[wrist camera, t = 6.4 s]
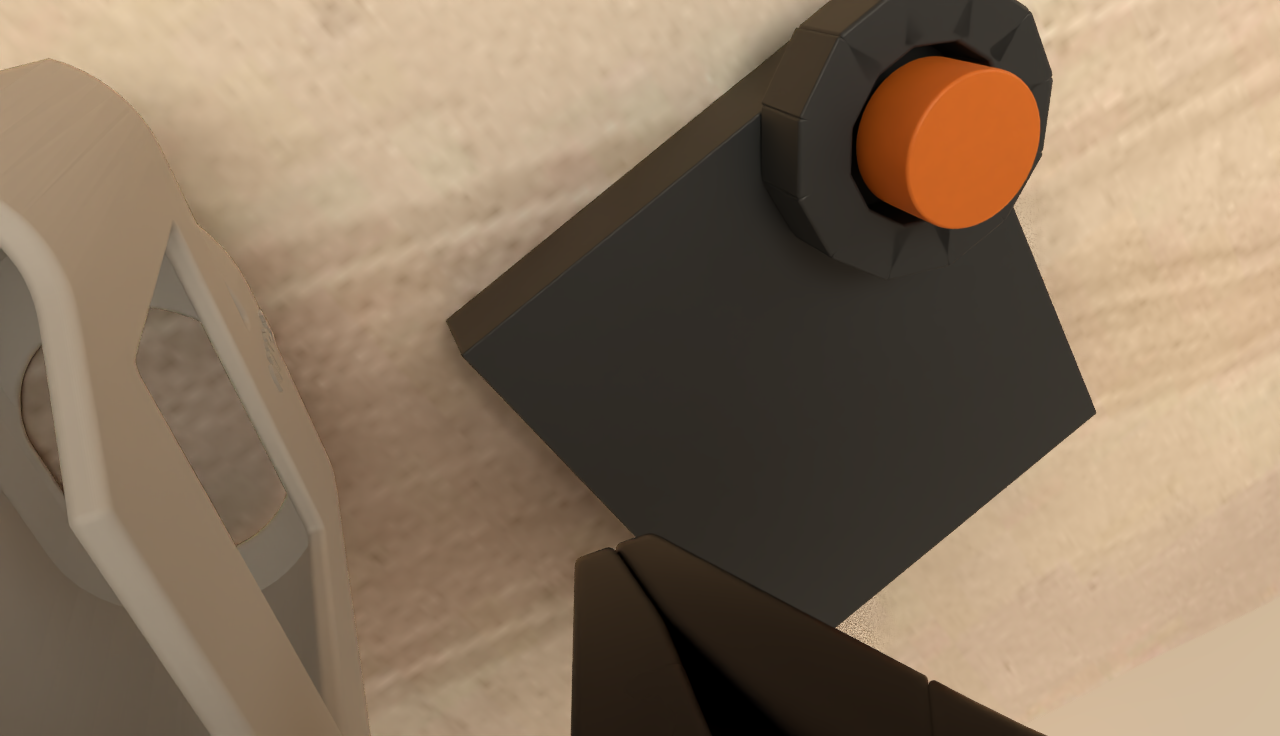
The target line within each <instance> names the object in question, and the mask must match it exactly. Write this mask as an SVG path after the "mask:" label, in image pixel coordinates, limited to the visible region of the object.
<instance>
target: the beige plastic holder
mask: <svg viewBox="0 0 1280 736" xmlns="http://www.w3.org/2000/svg"><path fill="white" fill-rule="evenodd" d="M149 308H154V309H162V310H166V311H170V312H175V313H178V314H181V315H184V316H187V317H190V318H192V319H195V320H197V321H199V322H201V324H202V326H203V328H204V330H205V332H206V334H207V336H208V338H209V340H210V342H211V344H212V346H213V348H214V350H215V352H216V354H217V356H218V358H219V360H220V362H221V364H222V366H223V368H224V370H225V372H226V374H227V376H228V378H229V380H230V382H231V384H232V386H233V388H234V389H235V391H236V393H237V395H238V397H239V399H240V401H241V403H242V405H243V407H244V409H245V411H246V413H247V415H248V417H249V419H250V421H251V423H252V425H253V427H254V429H255V431H256V433H257V435H258V437H259V439H260V441H261V443H262V445H263V447H264V449H265V451H266V453H267V455H268V457H269V459H270V461H271V463H272V465H273V467H274V469H275V471H276V473H277V475H278V477H279V479H280V481H281V483H282V485H283V487H284V488H285V490H286V492H287V493H286V496H285V499H284V501H283V503H282V505H281V507H280V508H279V510H278V511H277V513H276V514H275V515H274V517H273V518H272V519H271V520H270V521H269V522H268V524H267V525H266V526H265V527H263V528H262V529H261V530H260V531H259V532H258V533H256V534H255V535H253V536H252V537H251V538H249V539H248V540H246V541H244V542H242V543H241V544H239V545H237V546H236V545H235V544H234V542H233V540H232V538H231V536H230V535H229V533H228V531H227V529H226V528H225V526H224V524H223V522H222V520H221V519H220V517H219V515H218V513H217V512H216V510H215V508H214V506H213V504H212V503H211V501H210V499H209V497H208V496H207V494H206V492H205V490H204V488H203V487H202V485H201V483H200V481H199V480H198V478H197V476H196V474H195V472H194V471H193V469H192V467H191V465H190V464H189V462H188V460H187V458H186V456H185V455H184V453H183V451H182V449H181V448H180V446H179V444H178V442H177V440H176V439H175V437H174V435H173V433H172V432H171V430H170V428H169V426H168V424H167V423H166V421H165V419H164V417H163V416H162V414H161V412H160V410H159V408H158V407H157V405H156V403H155V401H154V400H153V398H152V396H151V394H150V392H149V391H148V389H147V387H146V385H145V384H144V382H143V380H142V378H141V376H140V374H139V372H138V369H137V366H136V361H135V358H136V354H137V350H138V347H139V343H140V340H141V336H142V332H143V329H144V325H145V321H146V318H147V314H148V311H149ZM41 345H42V348H43V355H44V361H45V368H46V375H47V381H48V388H49V395H50V402H51V408H52V415H53V422H54V428H55V435H56V442H57V448H58V455H59V462H60V468H61V475H62V482H63V489H64V493H63V491H62V490H61V488H60V487H59V485H58V484H57V482H56V481H55V479H54V478H53V476H52V475H51V473H50V471H49V470H48V468H47V467H46V465H45V464H44V462H43V461H42V459H41V458H40V456H39V455H38V453H37V452H36V450H35V449H34V447H33V446H32V444H31V443H30V441H29V439H28V437H27V435H26V432H25V429H24V426H23V422H22V416H21V401H20V394H21V384H22V380H23V377H24V373H25V371H26V368H27V366H28V364H29V362H30V360H31V358H32V357H33V355H34V354H35V353H36V351H37V350H38V348H39V347H40V346H41ZM0 736H371V735H370V727H369V720H368V713H367V706H366V698H365V691H364V684H363V676H362V669H361V662H360V654H359V647H358V640H357V633H356V625H355V618H354V611H353V603H352V596H351V589H350V581H349V574H348V567H347V560H346V552H345V545H344V538H343V530H342V523H341V516H340V509H339V501H338V494H337V487H336V481H335V475H334V471H333V469H332V466H331V463H330V460H329V458H328V455H327V453H326V451H325V449H324V447H323V445H322V442H321V440H320V438H319V436H318V434H317V432H316V429H315V427H314V425H313V423H312V421H311V419H310V417H309V414H308V412H307V410H306V408H305V406H304V404H303V401H302V399H301V397H300V395H299V393H298V391H297V388H296V386H295V384H294V382H293V380H292V378H291V376H290V373H289V371H288V369H287V367H286V365H285V363H284V360H283V358H282V356H281V354H280V352H279V350H278V348H277V345H276V343H275V338H274V335H273V332H272V330H271V327H270V325H269V323H268V321H267V320H266V318H265V316H264V314H263V312H262V310H260V309H259V307H258V304H257V302H256V300H255V298H254V296H253V294H252V291H251V289H250V287H249V285H248V284H247V282H246V280H245V278H244V276H243V275H242V273H241V271H240V269H239V268H238V266H237V265H236V264H235V262H234V261H233V260H232V259H231V257H230V256H229V255H228V253H227V252H226V251H225V250H224V248H223V247H222V246H221V245H220V244H219V243H218V242H217V241H215V240H214V239H213V238H212V237H211V236H210V235H209V234H208V233H207V232H206V231H205V230H204V229H202V228H201V227H200V226H198V225H197V223H196V221H195V219H194V217H193V215H192V213H191V211H190V209H189V207H188V204H187V202H186V200H185V198H184V196H183V194H182V192H181V190H180V188H179V186H178V184H177V181H176V179H175V177H174V175H173V173H172V171H171V169H170V167H169V165H168V163H167V160H166V158H165V156H164V154H163V152H162V150H161V148H160V146H159V144H158V142H157V140H156V138H155V137H154V135H153V133H152V131H151V130H150V128H149V127H148V125H147V124H146V123H145V121H144V120H143V118H142V117H141V116H140V115H139V114H138V113H137V111H136V110H135V109H134V108H133V107H132V106H131V105H130V104H129V103H128V102H127V101H126V100H125V99H124V98H122V97H121V96H120V95H119V94H118V93H117V92H116V91H114V90H113V89H111V88H110V87H109V86H107V85H106V84H104V83H103V82H102V81H100V80H98V79H97V78H95V77H93V76H91V75H89V74H88V73H86V72H84V71H82V70H80V69H77V68H75V67H73V66H70V65H68V64H66V63H62V62H59V61H56V60H53V59H50V58H48V59H44V60H40V61H36V62H33V63H29V64H25V65H21V66H17V67H13V68H9V69H5V70H1V71H0Z"/></svg>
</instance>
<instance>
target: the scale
mask: <svg viewBox="0 0 1280 736" xmlns="http://www.w3.org/2000/svg"><path fill="white" fill-rule="evenodd" d="M928 56H941V57H947V58H952V59H956V60H961V61H966V62H971V63H975V64H980V65H985V66H990V67H994V68H999V69H1003V70H1006V71H1009V72H1011V73H1013V74H1015V75H1016V76H1017V77H1019V78H1020V79H1021V80H1022V81H1023V82H1024V83H1025V84H1026V85H1027V86H1028V88H1029V89H1030V91H1031V92H1032V94H1033V96H1034V98H1035V100H1036V103H1037V107H1038V110H1039V117H1040V139H1039V145H1038V150H1037V154H1036V157H1035V160H1034V163H1033V166H1032V168H1031V171H1030V172H1029V174H1028V176H1027V178H1026V180H1025V182H1024V184H1023V185H1022V187H1021V188H1020V190H1019V191H1018V192H1017V194H1016V195H1015V196H1014V198H1013V199H1012V200H1011V201H1010V202H1009V203H1008V204H1007V205H1006V206H1005V207H1004V208H1003V209H1002V210H1001V211H999V212H998V213H997V214H995V215H994V216H993V217H991V218H989V219H988V220H986V221H984V222H982V223H979V224H977V225H974V226H971V227H968V228H961V229H946V228H941V227H938V226H936V225H933V224H931V223H929V222H926V221H924V220H922V219H920V218H918V217H916V216H914V215H911V214H909V213H907V212H905V211H903V210H901V209H898V208H896V207H894V206H892V205H890V204H888V203H885V202H884V201H882V200H880V199H879V198H877V197H876V196H875V195H874V194H873V193H872V192H871V191H870V190H869V189H868V187H867V186H866V184H865V182H864V181H863V178H862V176H861V174H860V171H859V167H858V163H857V156H856V141H857V133H858V128H859V124H860V121H861V117H862V114H863V112H864V110H865V108H866V105H867V104H868V102H869V100H870V98H871V96H872V95H873V94H874V92H875V91H876V89H877V88H878V87H879V86H880V84H881V83H882V82H883V81H884V80H885V79H886V78H887V77H888V76H889V75H890V74H891V73H893V72H894V71H895V70H897V69H898V68H899V67H901V66H903V65H905V64H907V63H908V62H911V61H913V60H916V59H919V58H923V57H928ZM1051 77H1052V71H1051V68H1050V65H1049V62H1048V60H1047V57H1046V54H1045V51H1044V48H1043V45H1042V42H1041V39H1040V36H1039V33H1038V30H1037V27H1036V24H1035V21H1034V18H1033V15H1032V13H1031V12H1030V11H1029V10H1028V8H1027V7H1026V6H1024V5H1023V4H1021V3H1020V2H1018V1H1017V0H830V1H829V2H828V3H827V4H825V5H824V6H823V7H822V8H821V9H819V10H818V11H817V12H816V13H814V14H813V15H812V16H811V17H810V18H808V19H807V20H806V21H805V22H803V23H802V24H801V25H800V26H799V28H796V29H795V31H794V33H793V35H792V37H791V39H790V41H789V42H788V43H786V44H785V45H784V46H783V47H781V48H780V49H779V50H778V51H777V52H775V53H774V54H773V55H772V56H770V57H769V58H768V59H767V60H765V61H764V62H763V63H762V64H761V65H759V66H758V67H757V68H756V69H754V70H753V71H752V72H751V73H749V74H748V75H747V76H746V77H745V78H743V79H742V80H741V81H740V82H738V83H737V84H736V85H735V86H734V87H732V88H731V89H730V90H729V91H727V92H726V93H725V94H724V95H722V96H721V97H720V98H719V99H718V100H716V101H715V102H714V103H713V104H711V105H710V106H709V107H708V108H707V109H705V110H704V111H703V112H702V113H700V114H699V115H698V116H697V117H695V118H694V119H693V120H692V121H691V122H689V123H688V124H687V125H686V126H684V127H683V128H682V129H681V130H679V131H678V132H677V133H676V134H675V135H673V136H672V137H671V138H670V139H668V140H667V141H666V142H665V143H664V144H662V145H661V146H660V147H659V148H657V149H656V150H655V151H654V152H652V153H651V154H650V155H649V156H648V157H646V158H645V159H644V160H643V161H641V162H640V163H639V164H638V165H636V166H635V167H634V168H633V169H632V170H630V171H629V172H628V173H627V174H625V175H624V176H623V177H622V178H621V179H619V180H618V181H617V182H616V183H614V184H613V185H612V186H611V187H609V188H608V189H607V190H606V191H605V192H603V193H602V194H601V195H600V196H598V197H597V198H596V199H595V200H594V201H592V202H591V203H590V204H589V205H587V206H586V207H585V208H584V209H582V210H581V211H580V212H579V213H578V214H576V215H575V216H574V217H573V218H571V219H570V220H569V221H568V222H566V223H565V224H564V225H563V226H562V227H560V228H559V229H558V230H557V231H555V232H554V233H553V234H552V235H551V236H549V237H548V238H547V239H546V240H544V241H543V242H542V243H541V244H539V245H538V246H537V247H536V248H535V249H533V250H532V251H531V252H530V253H528V254H527V255H526V256H525V257H524V258H522V259H521V260H520V261H519V262H517V263H516V264H515V265H514V266H512V267H511V268H510V269H509V270H508V271H506V272H505V273H504V274H503V275H501V276H500V277H499V278H498V279H496V280H495V281H494V282H493V283H492V284H490V285H489V286H488V287H487V288H485V289H484V290H483V291H482V292H481V293H479V294H478V295H477V296H476V297H474V298H473V299H472V300H471V301H469V302H468V303H467V304H466V305H465V306H463V307H462V308H461V309H460V310H458V311H457V312H456V313H455V314H453V315H452V316H451V317H450V318H449V319H447V321H446V322H447V324H448V326H449V329H450V331H451V333H452V335H453V337H454V339H455V342H456V344H457V346H458V348H459V350H460V352H461V355H462V357H463V358H464V359H465V360H466V361H467V362H468V363H469V364H470V365H471V366H472V367H473V368H474V369H475V370H476V371H477V372H478V373H479V374H480V375H481V376H482V377H483V378H484V379H485V381H486V382H487V383H488V384H489V385H490V386H491V387H492V388H493V389H494V390H495V391H496V392H497V393H498V394H499V395H500V396H501V397H502V398H503V399H504V400H505V401H506V402H507V403H508V404H509V406H510V407H511V408H512V409H513V410H514V411H515V412H516V413H517V414H518V415H519V416H520V417H521V418H522V419H523V420H524V421H525V422H526V423H527V424H528V425H529V426H530V427H531V428H532V429H533V431H534V432H535V433H536V434H537V435H538V436H539V437H540V438H541V439H542V440H543V441H544V442H545V443H546V444H547V445H548V446H549V447H550V448H551V449H552V450H553V451H554V452H555V453H556V454H557V456H558V457H559V458H560V459H561V460H562V461H563V462H564V463H565V464H566V465H567V466H568V467H569V468H570V469H571V470H572V471H573V472H574V473H575V474H576V475H577V476H578V477H579V478H580V480H581V481H582V482H583V483H584V484H585V485H586V486H587V487H588V488H589V489H590V490H591V491H592V492H593V493H594V494H595V495H596V496H597V497H598V498H599V499H600V500H601V501H602V502H603V503H604V505H605V506H606V507H607V508H608V509H609V510H610V511H611V512H612V513H613V514H614V515H615V516H616V517H617V518H618V519H619V520H620V521H621V522H622V523H623V524H624V525H625V526H626V527H627V528H628V530H629V531H630V532H631V533H632V534H633V535H634V536H635V537H638V536H641V535H644V534H647V533H654V534H657V535H659V536H661V537H663V538H665V539H667V540H669V541H670V542H672V543H674V544H676V545H678V546H680V547H682V548H684V549H686V550H688V551H689V552H691V553H693V554H695V555H697V556H699V557H701V558H703V559H705V560H707V561H708V562H710V563H712V564H714V565H716V566H718V567H720V568H722V569H724V570H726V571H727V572H729V573H731V574H733V575H735V576H737V577H739V578H741V579H743V580H745V581H746V582H748V583H750V584H752V585H754V586H756V587H758V588H760V589H762V590H764V591H765V592H767V593H769V594H771V595H773V596H775V597H777V598H779V599H781V600H783V601H784V602H786V603H788V604H790V605H792V606H794V607H796V608H798V609H800V610H802V611H803V612H805V613H807V614H809V615H811V616H813V617H815V618H817V619H819V620H821V621H822V622H824V623H826V624H828V625H830V626H832V627H834V628H836V627H837V626H838V625H839V624H841V623H842V622H843V621H844V620H845V619H847V618H848V617H849V616H850V615H851V614H853V613H854V612H855V611H856V610H858V609H859V608H860V607H861V606H862V605H864V604H865V603H866V602H867V601H868V600H870V599H871V598H872V597H873V596H875V595H876V594H877V593H878V592H879V591H881V590H882V589H883V588H884V587H886V586H887V585H888V584H889V583H890V582H892V581H893V580H894V579H895V578H896V577H898V576H899V575H900V574H901V573H903V572H904V571H905V570H906V569H907V568H909V567H910V566H911V565H912V564H913V563H915V562H916V561H917V560H918V559H920V558H921V557H922V556H923V555H924V554H926V553H927V552H928V551H929V550H931V549H932V548H933V547H934V546H935V545H937V544H938V543H939V542H940V541H941V540H943V539H944V538H945V537H946V536H948V535H949V534H950V533H951V532H952V531H954V530H955V529H956V528H957V527H958V526H960V525H961V524H962V523H963V522H965V521H966V520H967V519H968V518H969V517H971V516H972V515H973V514H974V513H976V512H977V511H978V510H979V509H980V508H982V507H983V506H984V505H985V504H986V503H988V502H989V501H990V500H991V499H993V498H994V497H995V496H996V495H997V494H999V493H1000V492H1001V491H1002V490H1003V489H1005V488H1006V487H1007V486H1008V485H1010V484H1011V483H1012V482H1013V481H1014V480H1016V479H1017V478H1018V477H1019V476H1021V475H1022V474H1023V473H1024V472H1025V471H1027V470H1028V469H1029V468H1030V467H1031V466H1033V465H1034V464H1035V463H1036V462H1038V461H1039V460H1040V459H1041V458H1042V457H1044V456H1045V455H1046V454H1047V453H1048V452H1050V451H1051V450H1052V449H1053V448H1055V447H1056V446H1057V445H1058V444H1059V443H1061V442H1062V441H1063V440H1064V439H1066V438H1067V437H1068V436H1069V435H1070V434H1072V433H1073V432H1074V431H1075V430H1076V429H1078V428H1079V427H1080V426H1081V425H1083V424H1084V423H1085V422H1086V421H1087V420H1089V419H1090V418H1091V417H1092V416H1093V415H1095V414H1096V410H1095V408H1094V405H1093V403H1092V400H1091V398H1090V395H1089V393H1088V390H1087V388H1086V385H1085V383H1084V381H1083V378H1082V376H1081V373H1080V371H1079V368H1078V366H1077V363H1076V361H1075V358H1074V356H1073V353H1072V351H1071V348H1070V346H1069V343H1068V341H1067V339H1066V336H1065V334H1064V331H1063V329H1062V326H1061V324H1060V321H1059V319H1058V316H1057V314H1056V311H1055V309H1054V306H1053V304H1052V302H1051V299H1050V297H1049V294H1048V292H1047V289H1046V287H1045V284H1044V282H1043V279H1042V277H1041V274H1040V272H1039V269H1038V267H1037V264H1036V262H1035V260H1034V257H1033V255H1032V252H1031V250H1030V247H1029V245H1028V242H1027V240H1026V237H1025V235H1024V232H1023V230H1022V227H1021V225H1020V222H1019V220H1018V218H1017V215H1016V213H1015V210H1014V208H1013V206H1014V204H1015V202H1016V201H1017V199H1018V197H1019V195H1020V193H1021V192H1022V190H1023V188H1024V186H1025V185H1026V183H1027V181H1028V179H1029V177H1030V176H1031V174H1032V172H1033V170H1034V169H1035V167H1036V165H1037V163H1038V161H1039V160H1040V158H1041V156H1042V150H1043V146H1044V139H1045V132H1046V125H1047V118H1048V110H1049V103H1050V96H1051V89H1052V82H1053V80H1052V78H1051Z"/></svg>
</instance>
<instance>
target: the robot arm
mask: <svg viewBox="0 0 1280 736" xmlns="http://www.w3.org/2000/svg"><path fill="white" fill-rule="evenodd" d="M571 736H1046V735H1044V734H1042V733H1039V732H1037V731H1035V730H1033V729H1031V728H1028V727H1026V726H1024V725H1022V724H1020V723H1018V722H1016V721H1014V720H1012V719H1010V718H1008V717H1006V716H1004V715H1002V714H1000V713H998V712H996V711H994V710H992V709H990V708H988V707H986V706H984V705H981V704H979V703H977V702H975V701H973V700H971V699H969V698H967V697H966V696H964V695H962V694H960V693H958V692H956V691H954V690H952V689H950V688H948V687H947V686H945V685H943V684H941V683H939V682H937V681H934V680H932V681H930V682H929V685H928V679H927V677H926V676H925V675H923V674H921V673H919V672H917V671H915V670H914V669H912V668H910V667H908V666H906V665H904V664H902V663H900V662H898V661H896V660H895V659H893V658H891V657H889V656H887V655H885V654H883V653H881V652H879V651H878V650H876V649H874V648H872V647H870V646H868V645H866V644H864V643H862V642H860V641H859V640H857V639H855V638H853V637H851V636H849V635H847V634H845V633H843V632H841V631H840V630H838V629H836V628H834V627H832V626H830V625H828V624H826V623H824V622H822V621H821V620H819V619H817V618H815V617H813V616H811V615H809V614H807V613H805V612H803V611H802V610H800V609H798V608H796V607H794V606H792V605H790V604H788V603H786V602H784V601H783V600H781V599H779V598H777V597H775V596H773V595H771V594H769V593H767V592H765V591H764V590H762V589H760V588H758V587H756V586H754V585H752V584H750V583H748V582H746V581H745V580H743V579H741V578H739V577H737V576H735V575H733V574H731V573H729V572H727V571H726V570H724V569H722V568H720V567H718V566H716V565H714V564H712V563H710V562H708V561H707V560H705V559H703V558H701V557H699V556H697V555H695V554H693V553H691V552H689V551H688V550H686V549H684V548H682V547H680V546H678V545H676V544H674V543H672V542H670V541H669V540H667V539H665V538H663V537H661V536H659V535H657V534H654V533H647V534H644V535H641V536H638V537H635V538H632V539H630V540H627V541H624V542H621V543H619V544H618V545H617V547H616V549H615V550H614V549H613V548H609V547H608V548H604V549H602V550H599V551H596V552H593V553H590V554H588V555H585V556H582V557H580V558H578V559H577V560H576V562H575V572H574V617H573V662H572V706H571Z"/></svg>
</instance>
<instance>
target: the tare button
mask: <svg viewBox="0 0 1280 736" xmlns="http://www.w3.org/2000/svg"><path fill="white" fill-rule="evenodd" d="M1039 139H1040V117H1039V110H1038V107H1037V103H1036V100H1035V98H1034V96H1033V94H1032V92H1031V91H1030V89H1029V88H1028V86H1027V85H1026V84H1025V83H1024V82H1023V81H1022V80H1021V79H1020V78H1019V77H1017V76H1016V75H1015V74H1013V73H1011V72H1009V71H1006V70H1003V69H999V68H994V67H990V66H985V65H980V64H975V63H971V62H966V61H961V60H956V59H952V58H947V57H941V56H928V57H923V58H919V59H916V60H913V61H911V62H908V63H907V64H905V65H903V66H901V67H899V68H898V69H897V70H895V71H894V72H893V73H891V74H890V75H889V76H888V77H887V78H886V79H885V80H884V81H883V82H882V83H881V84H880V86H879V87H878V88H877V89H876V91H875V92H874V94H873V95H872V96H871V98H870V100H869V102H868V104H867V105H866V108H865V110H864V112H863V114H862V117H861V121H860V124H859V128H858V133H857V141H856V156H857V163H858V167H859V171H860V174H861V176H862V178H863V181H864V182H865V184H866V186H867V187H868V189H869V190H870V191H871V192H872V193H873V194H874V195H875V196H876V197H877V198H879V199H880V200H882V201H884V202H885V203H888V204H890V205H892V206H894V207H896V208H898V209H901V210H903V211H905V212H907V213H909V214H911V215H914V216H916V217H918V218H920V219H922V220H924V221H926V222H929V223H931V224H933V225H936V226H938V227H941V228H946V229H961V228H968V227H971V226H974V225H977V224H979V223H982V222H984V221H986V220H988V219H989V218H991V217H993V216H994V215H995V214H997V213H998V212H999V211H1001V210H1002V209H1003V208H1004V207H1005V206H1006V205H1007V204H1008V203H1009V202H1010V201H1011V200H1012V199H1013V198H1014V196H1015V195H1016V194H1017V192H1018V191H1019V190H1020V188H1021V187H1022V185H1023V184H1024V182H1025V180H1026V178H1027V176H1028V174H1029V172H1030V171H1031V168H1032V166H1033V163H1034V160H1035V157H1036V154H1037V150H1038V145H1039Z"/></svg>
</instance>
